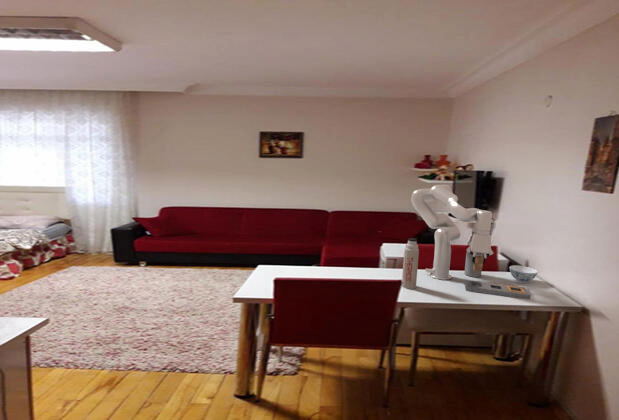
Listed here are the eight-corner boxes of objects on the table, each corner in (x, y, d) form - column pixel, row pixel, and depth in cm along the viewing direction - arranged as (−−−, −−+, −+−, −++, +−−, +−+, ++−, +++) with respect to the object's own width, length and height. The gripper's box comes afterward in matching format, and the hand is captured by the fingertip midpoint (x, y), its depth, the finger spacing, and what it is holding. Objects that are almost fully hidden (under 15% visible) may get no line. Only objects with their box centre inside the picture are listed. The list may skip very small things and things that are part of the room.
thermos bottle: (411, 290, 202) (415, 241, 198) (399, 286, 208) (402, 238, 203) (418, 286, 208) (422, 239, 204) (405, 283, 213) (409, 236, 209)
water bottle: (484, 276, 230) (489, 233, 226) (474, 278, 226) (478, 234, 221) (471, 271, 239) (475, 230, 235) (460, 273, 235) (465, 231, 230)
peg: (474, 270, 206) (475, 256, 204) (473, 268, 209) (474, 254, 208) (481, 271, 204) (483, 257, 203) (480, 269, 208) (482, 255, 207)
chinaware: (534, 287, 214) (536, 274, 212) (506, 281, 222) (507, 269, 221) (537, 281, 225) (539, 269, 224) (510, 275, 234) (511, 264, 233)
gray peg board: (465, 290, 204) (466, 286, 204) (464, 283, 216) (464, 279, 215) (530, 299, 195) (530, 294, 194) (524, 291, 206) (525, 287, 206)
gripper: (466, 232, 202) (463, 263, 205) (499, 235, 197) (495, 267, 200) (465, 229, 209) (461, 260, 212) (497, 232, 204) (493, 263, 207)
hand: (478, 263), depth 206 cm, fingers closed on peg, 4 cm apart
